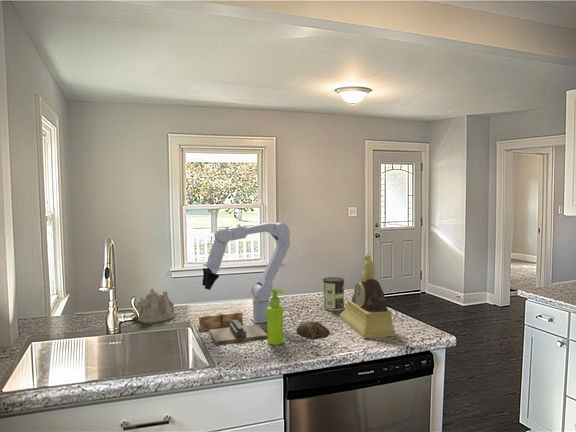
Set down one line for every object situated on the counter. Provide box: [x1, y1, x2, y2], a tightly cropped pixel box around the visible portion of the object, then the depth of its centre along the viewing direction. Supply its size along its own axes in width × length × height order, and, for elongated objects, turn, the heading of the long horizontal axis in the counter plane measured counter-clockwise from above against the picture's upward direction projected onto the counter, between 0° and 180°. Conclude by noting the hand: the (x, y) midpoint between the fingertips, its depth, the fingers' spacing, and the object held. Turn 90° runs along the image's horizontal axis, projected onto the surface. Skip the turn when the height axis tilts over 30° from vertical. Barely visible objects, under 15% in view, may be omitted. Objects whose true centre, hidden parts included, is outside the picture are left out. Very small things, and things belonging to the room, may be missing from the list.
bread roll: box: [295, 321, 330, 339], centre depth 172 cm, size 13×12×5 cm
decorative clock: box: [339, 254, 396, 340], centre depth 178 cm, size 28×13×30 cm, turn 12°
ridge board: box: [209, 320, 268, 346], centre depth 170 cm, size 20×15×4 cm
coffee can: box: [322, 276, 345, 312], centre depth 208 cm, size 10×10×14 cm
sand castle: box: [135, 288, 177, 324], centre depth 196 cm, size 16×16×15 cm
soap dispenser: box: [266, 288, 286, 346], centre depth 161 cm, size 6×7×20 cm
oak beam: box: [198, 310, 244, 330], centre depth 183 cm, size 18×3×5 cm, turn 109°
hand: (206, 287), depth 180 cm, fingers open, 7 cm apart
